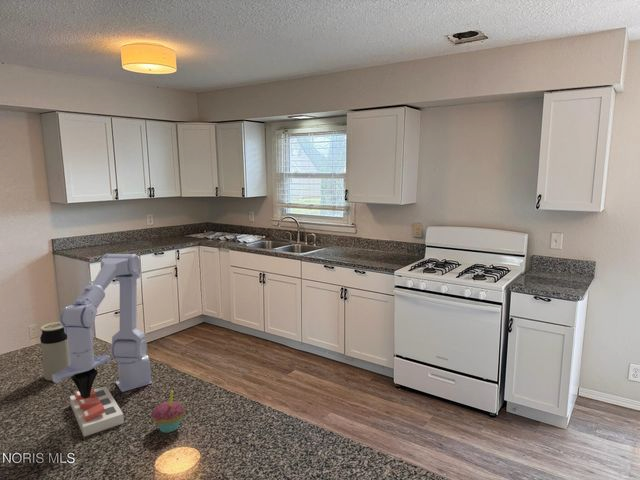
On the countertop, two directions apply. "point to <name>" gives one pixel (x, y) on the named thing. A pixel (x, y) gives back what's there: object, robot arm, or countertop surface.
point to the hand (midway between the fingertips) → (85, 396)
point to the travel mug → (54, 349)
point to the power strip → (103, 421)
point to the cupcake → (168, 415)
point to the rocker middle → (88, 402)
